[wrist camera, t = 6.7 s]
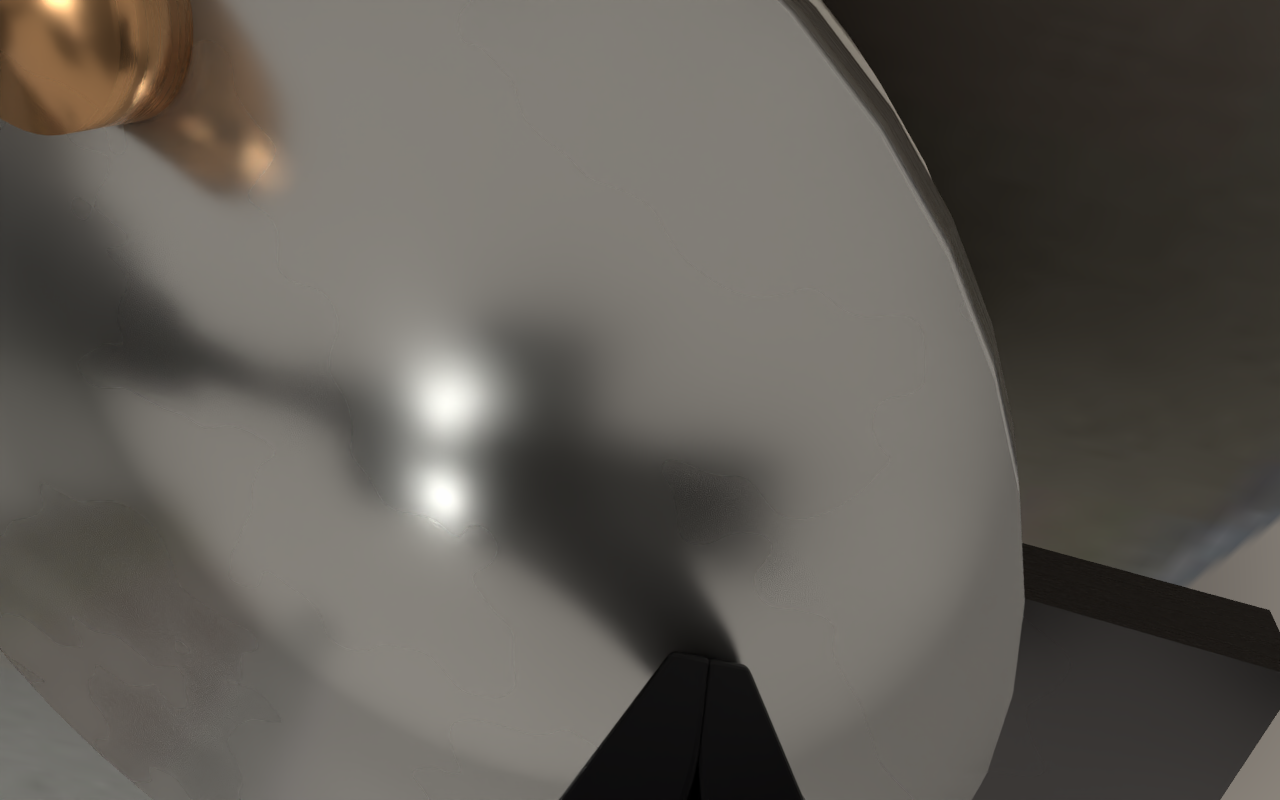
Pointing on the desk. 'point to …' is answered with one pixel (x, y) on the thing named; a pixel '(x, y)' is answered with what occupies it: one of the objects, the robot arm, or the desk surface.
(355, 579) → the cooker lid
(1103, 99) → the desk surface
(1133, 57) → the desk surface
